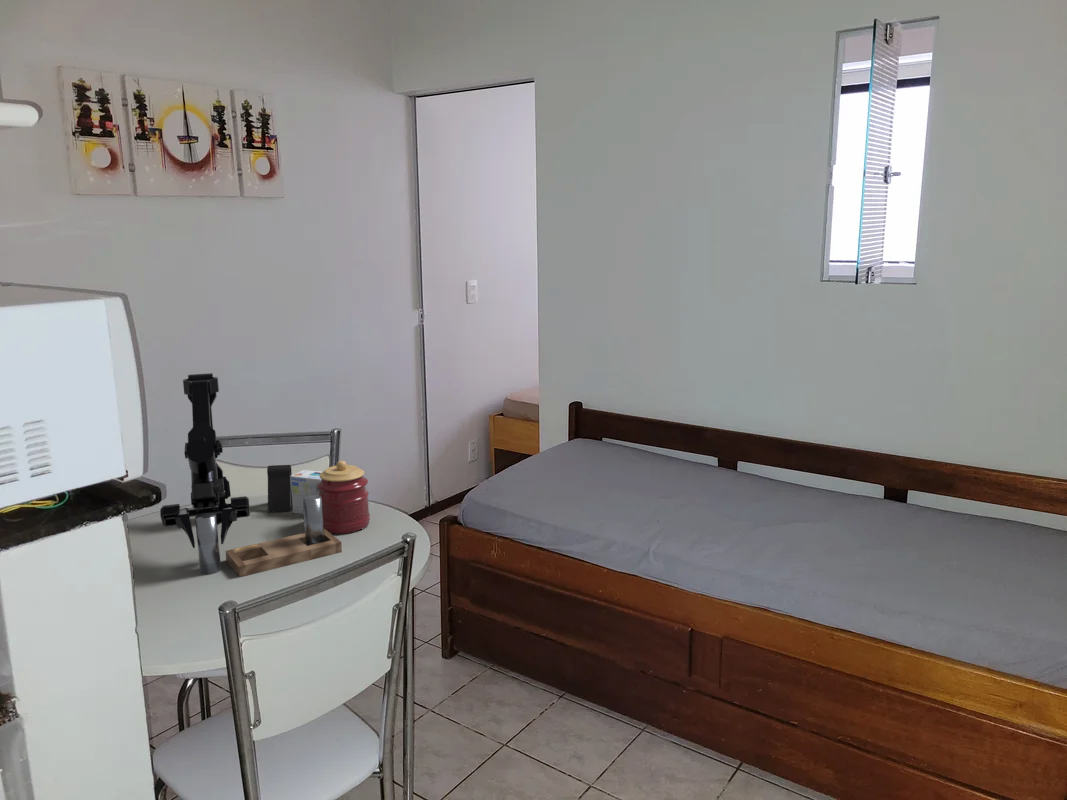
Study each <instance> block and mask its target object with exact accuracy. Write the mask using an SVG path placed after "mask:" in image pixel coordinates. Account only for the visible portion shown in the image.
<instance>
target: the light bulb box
mask: <svg viewBox="0 0 1067 800" xmlns="http://www.w3.org/2000/svg"><path fill="white" fill-rule="evenodd" d="M322 472H323V471H319V470H308V469H302V470H301V471H298V472H296V473H294V474H292V475H291V476H290V479H291V492H292V505H293V507H292V513H293V514H294V513H295V514H301V515H304V513H303V498H304V497H306V496H309V495H319V488H318V487H317V483H318V482H319V481H320V480H321V478H320V476H319V475H320V474H321V473H322Z"/></svg>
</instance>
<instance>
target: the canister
mask: <svg viewBox="0 0 1067 800" xmlns="http://www.w3.org/2000/svg"><path fill="white" fill-rule="evenodd" d="M336 462H337V463H336V465H332V466H330V467H328V468H326V469H324V470H323V471H321V472H322V473H321V474H320V475H319V476H320V478H321V480H320V481H319V482H318V483H317V487H318V488H319V496H321V497H322V512H323V527H324V529H326V530H327V531H328V532H329V533H331V534H341V535H342V534H344V535H345V534H350V533H351V532H352V533H356V532H358V531H357V530H359V531H361V530H360V529H362V528H364V527H366V526H367V525H368V524H369V525H370V520H371V517H370V516H371V515H370V508H369V494H370V493H369V491H368V489H367V485H368V483H369V480H368V478H367V477H365V476H364V475H365V471H364V469H361V468H359V467H358V466H357V465H351V464H347V462H346V461H345V460H338V461H336ZM369 525H368V526H369ZM368 526H367V527H368ZM367 527H366V528H367ZM364 529H365V528H364ZM362 530H363V529H362ZM355 531H356V532H355Z"/></svg>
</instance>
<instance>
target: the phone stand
mask: <svg viewBox="0 0 1067 800" xmlns="http://www.w3.org/2000/svg"><path fill="white" fill-rule="evenodd" d="M266 473H267V513H284V512H285V513H286V512H291V511H292V510H293V505H292V492H291V479H290V476H291V475H293V474H292V473H293V472H292V465H291V464H281V465H279V464H278V465H274V464H273V465H268V466H267V469H266Z"/></svg>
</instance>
